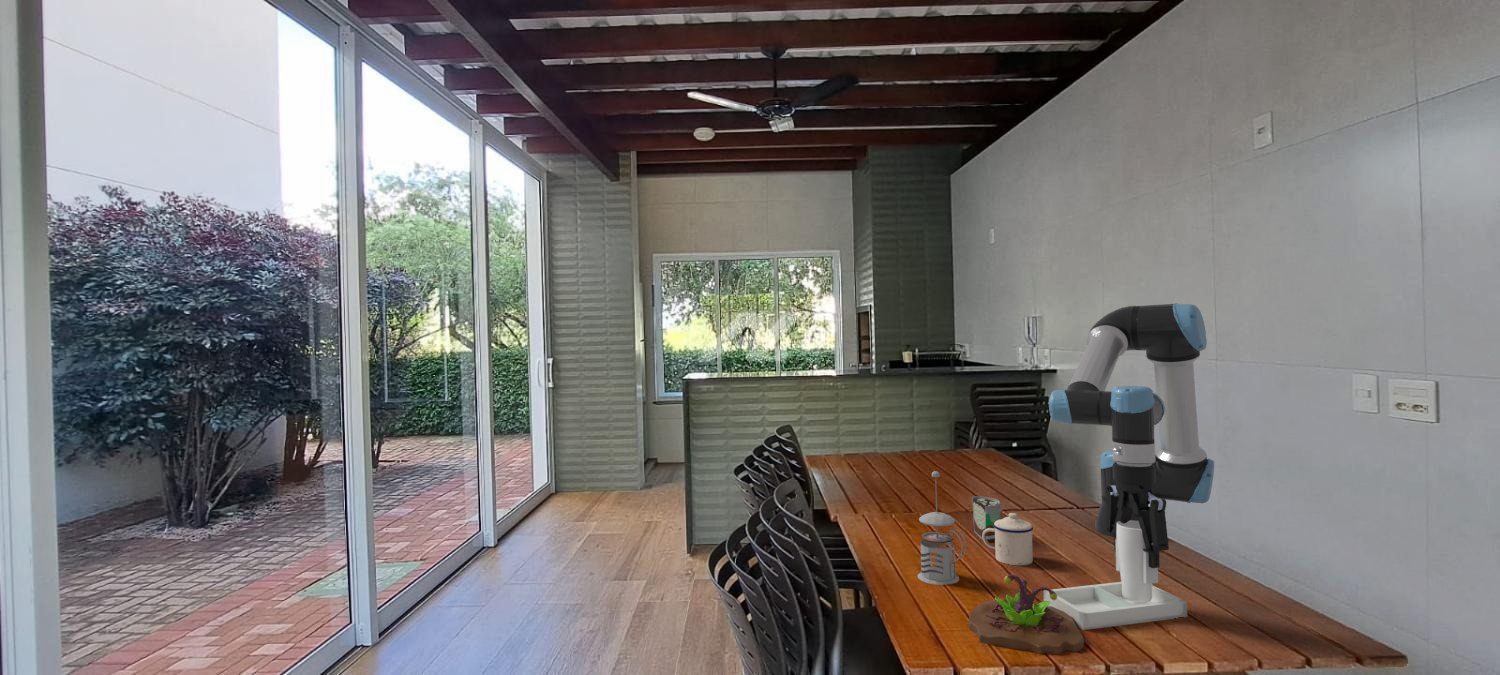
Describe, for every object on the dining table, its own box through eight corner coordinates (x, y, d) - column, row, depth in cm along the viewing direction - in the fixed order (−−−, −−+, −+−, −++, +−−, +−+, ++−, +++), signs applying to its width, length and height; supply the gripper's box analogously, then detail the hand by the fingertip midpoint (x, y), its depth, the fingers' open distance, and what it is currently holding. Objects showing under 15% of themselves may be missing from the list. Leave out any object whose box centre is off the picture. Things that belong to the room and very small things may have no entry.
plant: (966, 608, 140) (964, 554, 140) (1068, 616, 135) (1066, 560, 134) (971, 652, 120) (970, 590, 120) (1091, 663, 115) (1089, 598, 115)
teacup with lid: (1036, 557, 168) (1034, 511, 168) (1031, 568, 160) (1029, 520, 160) (986, 550, 174) (985, 506, 174) (979, 561, 166) (978, 514, 166)
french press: (930, 567, 163) (927, 465, 163) (975, 579, 155) (972, 471, 155) (908, 579, 156) (905, 472, 156) (954, 591, 148) (951, 478, 148)
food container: (1010, 543, 180) (1009, 506, 180) (987, 543, 180) (986, 506, 180) (994, 529, 192) (993, 495, 192) (972, 530, 192) (971, 495, 192)
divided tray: (1140, 596, 142) (1140, 579, 142) (1187, 619, 131) (1186, 601, 131) (1043, 607, 138) (1043, 590, 138) (1083, 632, 126) (1082, 613, 126)
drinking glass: (1156, 607, 131) (1154, 531, 131) (1116, 601, 134) (1114, 526, 134) (1156, 595, 137) (1154, 522, 136) (1118, 589, 140) (1117, 518, 140)
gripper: (1084, 455, 144) (1087, 562, 144) (1155, 473, 125) (1158, 596, 125) (1114, 453, 146) (1117, 558, 146) (1190, 471, 126) (1193, 592, 127)
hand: (1136, 576), depth 135 cm, fingers closed on drinking glass, 7 cm apart
